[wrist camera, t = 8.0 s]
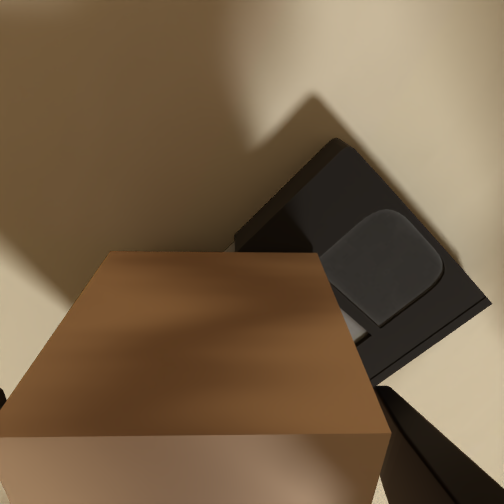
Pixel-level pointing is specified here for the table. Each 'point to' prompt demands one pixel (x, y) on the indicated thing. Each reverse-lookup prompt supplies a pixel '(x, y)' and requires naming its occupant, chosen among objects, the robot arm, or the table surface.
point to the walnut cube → (197, 390)
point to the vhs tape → (367, 258)
